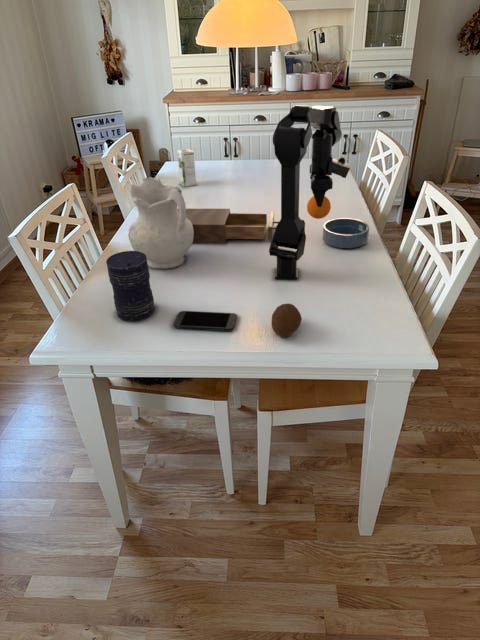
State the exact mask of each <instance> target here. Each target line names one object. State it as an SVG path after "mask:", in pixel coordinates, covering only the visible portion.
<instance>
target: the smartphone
mask: <svg viewBox="0 0 480 640" xmlns="http://www.w3.org/2000/svg"><path fill="white" fill-rule="evenodd" d="M237 318H238V314H237V313H236V312H235V313H234V312H217V311H215V312H214V311H193V310H191V311H190V310H181V311H179V312H178V314H177V316H176V318H175V320H174V321H173V325H172V326H173V327H174V328H175V329H188V330H189V329H190V330H205V331H207V330H210V331H229V332H230V331H233V330H234V329H235V326H236V323H237Z"/></svg>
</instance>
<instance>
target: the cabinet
mask: <svg viewBox="0 0 480 640" xmlns="http://www.w3.org/2000/svg"><path fill="white" fill-rule="evenodd" d="M177 210H178V212H179V209H178V208H177ZM229 213H231V208H186V218H188V219H189V220H190V221H191V223H192V225H193V230H194V235H193V243H192V244H210V245H211V244H215V245H216V244H217V245H219V244H220V245H222V244H223V245H226V243H227V240H228V239H225V224H226V221H227V218H228V216H229Z"/></svg>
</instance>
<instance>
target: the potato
mask: <svg viewBox="0 0 480 640" xmlns="http://www.w3.org/2000/svg"><path fill="white" fill-rule="evenodd" d="M302 319H303V317H302V314H301V313H300V310H299V309H298V308H297V306H295V305H294V304H293V303H287V302H286V303H282V304H280V305H278V306H277V307H276V308H275V309H274V311H273V313H272V315H271V328H272V330H273V332H274V333H275V334H276V335H277V336H278V337H281V338H287V337H289V336H291V335H292V334H293V333H295V332H296V331H297V330H298V329H299V327H300V326H301V323H302Z"/></svg>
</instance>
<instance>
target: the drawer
mask: <svg viewBox="0 0 480 640" xmlns="http://www.w3.org/2000/svg"><path fill="white" fill-rule="evenodd" d="M269 213H270V214H269V220H268V213H267V212H230V213H229V216H228V218H227V221H226V224H225V239H227V240H265V237H266V232H267V241H268V242H272V239H273V235H274V230H275V228H276V226H275V224H278V223H279V221H280V220H275V212H274V211H270V212H269Z"/></svg>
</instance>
